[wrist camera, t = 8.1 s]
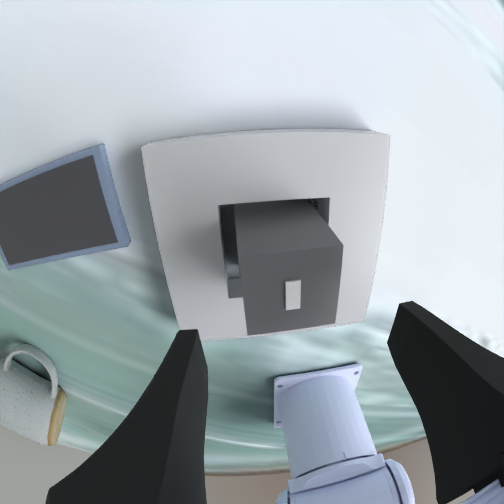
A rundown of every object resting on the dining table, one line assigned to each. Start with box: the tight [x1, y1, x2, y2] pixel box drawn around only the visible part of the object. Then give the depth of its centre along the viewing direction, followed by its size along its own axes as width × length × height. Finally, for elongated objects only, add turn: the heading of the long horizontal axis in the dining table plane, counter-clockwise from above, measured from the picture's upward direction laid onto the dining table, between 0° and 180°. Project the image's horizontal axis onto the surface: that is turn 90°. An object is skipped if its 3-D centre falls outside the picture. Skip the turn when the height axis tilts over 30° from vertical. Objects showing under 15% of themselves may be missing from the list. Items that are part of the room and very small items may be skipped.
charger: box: [234, 199, 344, 336], centre depth 14 cm, size 4×4×6 cm
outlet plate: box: [141, 129, 390, 341], centre depth 16 cm, size 12×12×2 cm
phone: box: [0, 144, 131, 270], centre depth 15 cm, size 6×11×1 cm, turn 97°
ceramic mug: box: [0, 344, 67, 446], centre depth 19 cm, size 11×8×8 cm
